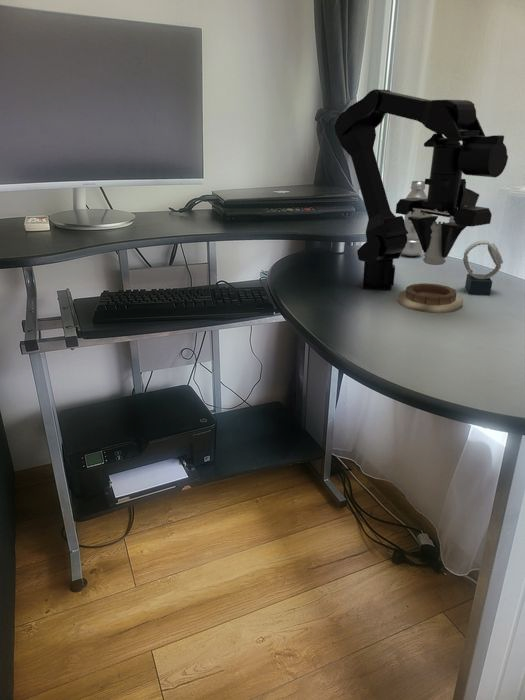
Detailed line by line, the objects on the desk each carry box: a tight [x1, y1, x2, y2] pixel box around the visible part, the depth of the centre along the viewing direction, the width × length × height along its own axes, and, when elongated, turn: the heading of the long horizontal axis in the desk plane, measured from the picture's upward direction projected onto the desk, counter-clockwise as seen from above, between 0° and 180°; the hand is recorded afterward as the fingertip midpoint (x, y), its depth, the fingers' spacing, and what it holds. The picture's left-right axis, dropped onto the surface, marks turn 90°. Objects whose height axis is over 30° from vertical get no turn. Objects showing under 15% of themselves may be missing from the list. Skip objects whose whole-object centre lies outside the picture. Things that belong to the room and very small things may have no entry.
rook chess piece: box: [422, 221, 447, 266], centre depth 102 cm, size 4×4×8 cm
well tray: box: [397, 282, 464, 314], centre depth 107 cm, size 13×13×3 cm
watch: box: [462, 240, 504, 296], centre depth 112 cm, size 6×8×11 cm
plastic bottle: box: [401, 180, 428, 257], centre depth 141 cm, size 6×7×20 cm
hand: (435, 254), depth 103 cm, fingers closed on rook chess piece, 4 cm apart
